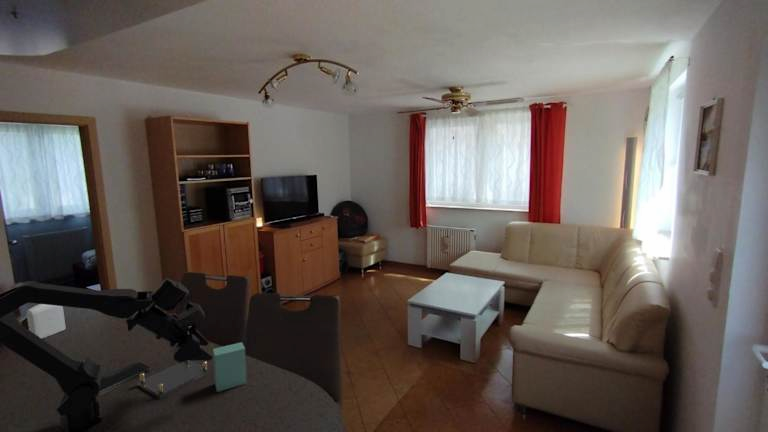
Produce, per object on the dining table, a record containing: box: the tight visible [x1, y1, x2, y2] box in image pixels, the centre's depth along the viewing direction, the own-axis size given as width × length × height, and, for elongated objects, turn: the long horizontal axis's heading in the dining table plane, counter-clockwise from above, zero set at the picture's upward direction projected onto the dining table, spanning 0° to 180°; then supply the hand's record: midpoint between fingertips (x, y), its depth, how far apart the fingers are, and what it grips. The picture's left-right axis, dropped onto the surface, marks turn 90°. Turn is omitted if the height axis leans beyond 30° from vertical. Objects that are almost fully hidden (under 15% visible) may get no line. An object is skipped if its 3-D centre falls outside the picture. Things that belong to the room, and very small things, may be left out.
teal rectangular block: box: [212, 342, 247, 392], centre depth 106 cm, size 8×4×11 cm, turn 122°
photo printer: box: [26, 304, 66, 339], centre depth 134 cm, size 10×4×12 cm, turn 160°
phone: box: [95, 361, 152, 397], centre depth 108 cm, size 8×1×15 cm
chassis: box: [137, 360, 211, 399], centre depth 108 cm, size 15×12×4 cm
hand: (209, 351), depth 102 cm, fingers open, 9 cm apart
